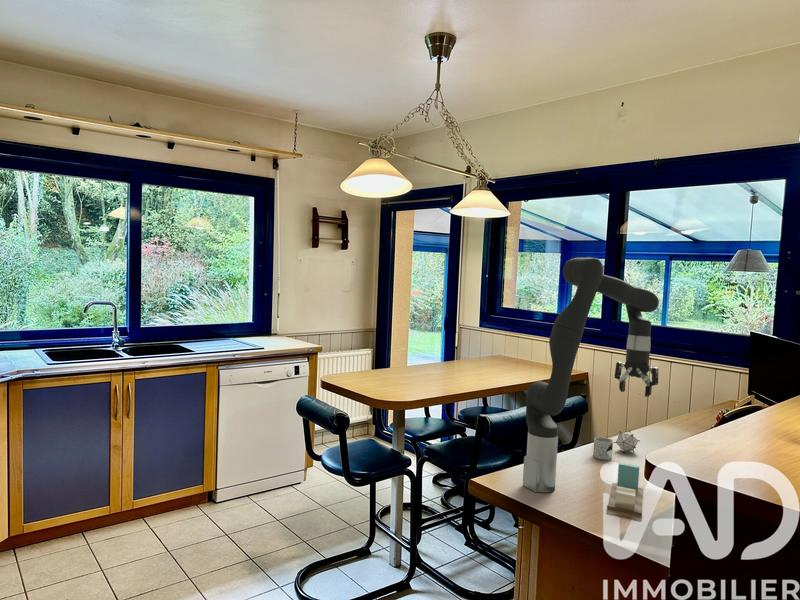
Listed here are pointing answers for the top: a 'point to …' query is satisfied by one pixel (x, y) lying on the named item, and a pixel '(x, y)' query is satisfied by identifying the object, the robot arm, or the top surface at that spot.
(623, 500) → the ash cube
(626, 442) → the game die
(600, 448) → the mug
